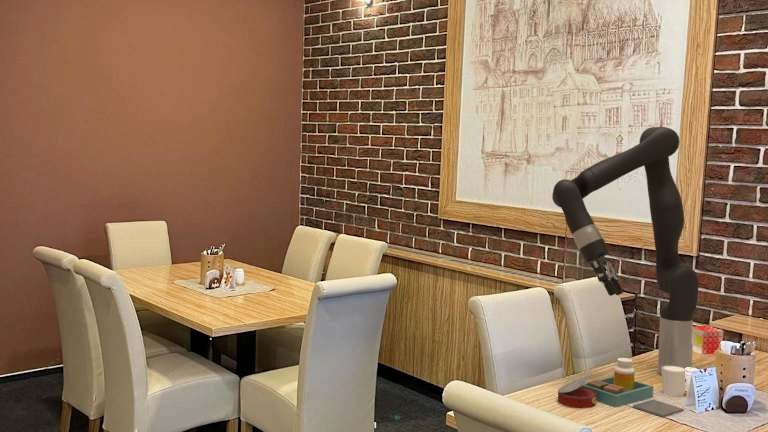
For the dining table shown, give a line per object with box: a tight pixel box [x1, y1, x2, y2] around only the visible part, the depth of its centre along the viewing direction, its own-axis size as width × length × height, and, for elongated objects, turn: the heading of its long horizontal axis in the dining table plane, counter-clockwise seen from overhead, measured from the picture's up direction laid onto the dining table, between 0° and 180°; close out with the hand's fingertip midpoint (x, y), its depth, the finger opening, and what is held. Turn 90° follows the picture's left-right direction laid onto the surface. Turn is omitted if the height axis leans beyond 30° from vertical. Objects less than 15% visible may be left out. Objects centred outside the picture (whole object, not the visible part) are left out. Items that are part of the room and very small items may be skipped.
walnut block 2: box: [603, 384, 624, 395], centre depth 200 cm, size 4×4×4 cm
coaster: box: [631, 399, 685, 418], centre depth 194 cm, size 9×9×1 cm
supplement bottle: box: [613, 357, 636, 392], centre depth 206 cm, size 5×5×10 cm
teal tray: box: [580, 375, 654, 408], centre depth 204 cm, size 16×12×3 cm
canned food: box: [557, 373, 597, 409], centre depth 198 cm, size 11×10×10 cm
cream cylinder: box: [661, 366, 686, 397], centre depth 208 cm, size 7×7×7 cm
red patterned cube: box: [692, 325, 724, 355], centre depth 256 cm, size 8×8×8 cm
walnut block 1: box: [586, 379, 609, 390], centre depth 203 cm, size 4×4×4 cm
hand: (616, 294), depth 211 cm, fingers open, 8 cm apart
